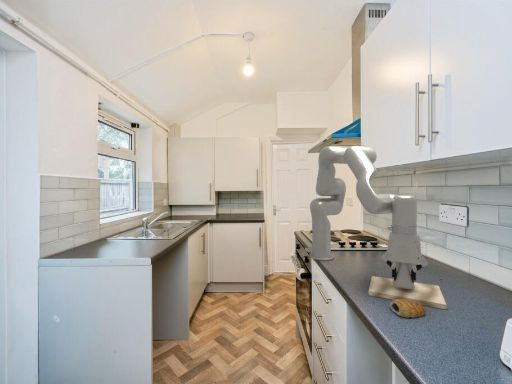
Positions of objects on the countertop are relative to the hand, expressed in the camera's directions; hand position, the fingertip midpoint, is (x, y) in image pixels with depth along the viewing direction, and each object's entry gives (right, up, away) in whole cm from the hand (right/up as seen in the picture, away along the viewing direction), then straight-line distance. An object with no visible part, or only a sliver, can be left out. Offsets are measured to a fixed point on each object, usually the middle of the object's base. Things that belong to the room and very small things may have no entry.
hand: (403, 280), depth 89 cm
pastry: (-7, -5, -13) cm, 16 cm away
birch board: (0, -4, 0) cm, 4 cm away
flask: (0, -2, 0) cm, 2 cm away
